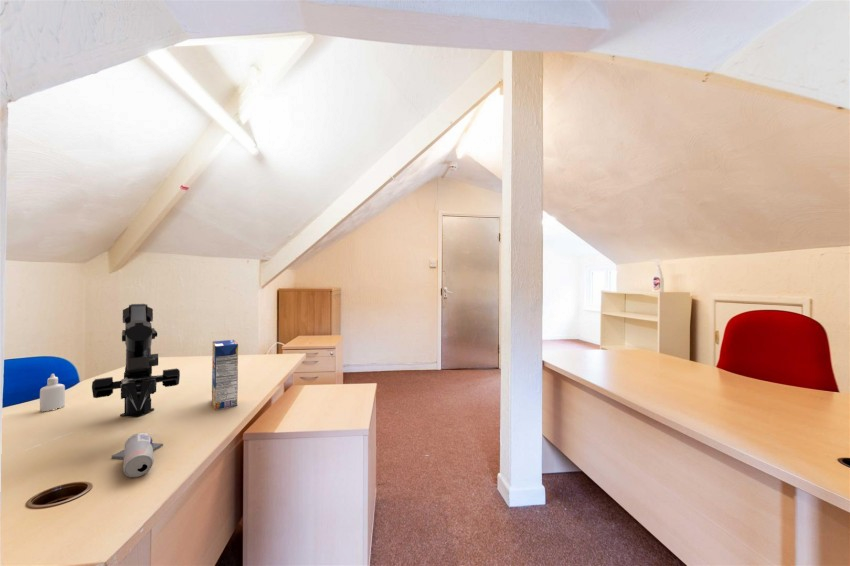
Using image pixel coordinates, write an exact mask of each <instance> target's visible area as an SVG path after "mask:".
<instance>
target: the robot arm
mask: <svg viewBox="0 0 850 566" xmlns="http://www.w3.org/2000/svg"><path fill="white" fill-rule="evenodd" d="M153 321H154V309H153V308H152V307H150V306H148V304H146V303H131V304H129V305H128V307H126V308H124V309H123V310H122V323H123V324H124V326H125V327H124V328H125V329H122V330H121V331H122V333H121V341H122V343H123V342H124V344H125V348H126V349H125V367H124V372H123V378H122V379H120V380H117V381H114V379H113V376H108V377H102V378H95V379H94V380H93V381H92V383H91V392H92V397H93V398H94V399H98V398H104V397H109V396H111V395H112V394H114V390H116V389H117V390H118V389H120V400H124V412H122V413H120V414H119V417H127V418H130V417H131V418H139V417H141V416H143V415H145V414H147V413H150V412H153V411H154V410H155V407H152V398H151V395H154V394H155V393H157V383H161V384H162V386H163V387H165V388H169V387H175V386H178V385H179V384H180V378H181V373H180V371H181V370H180V369H179V368H177V367H176V368H170V369H162V374H157V375H152V374H153V367H156V366H159V353H152V340H155V339H156V337H158V331H156V329H155V327H152V323H153ZM151 322H152V323H151Z"/></svg>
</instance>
